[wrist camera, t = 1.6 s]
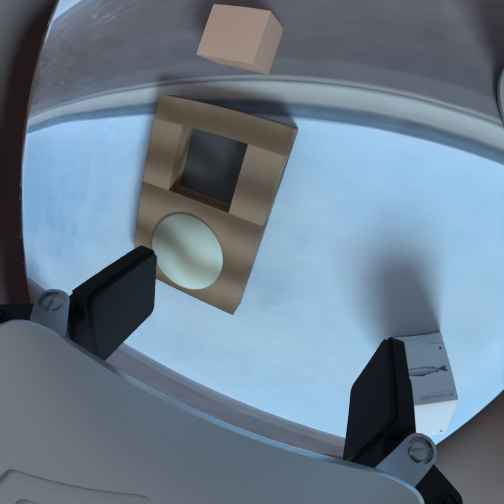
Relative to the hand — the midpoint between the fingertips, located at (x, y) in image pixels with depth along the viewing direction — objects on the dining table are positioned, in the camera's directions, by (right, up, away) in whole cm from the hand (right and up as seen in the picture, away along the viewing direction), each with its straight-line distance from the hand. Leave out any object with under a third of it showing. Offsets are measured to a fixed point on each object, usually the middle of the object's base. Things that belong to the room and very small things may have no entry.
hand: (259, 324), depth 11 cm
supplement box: (+23, -12, +25) cm, 36 cm away
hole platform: (-6, +9, +26) cm, 28 cm away
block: (0, +26, +17) cm, 31 cm away
